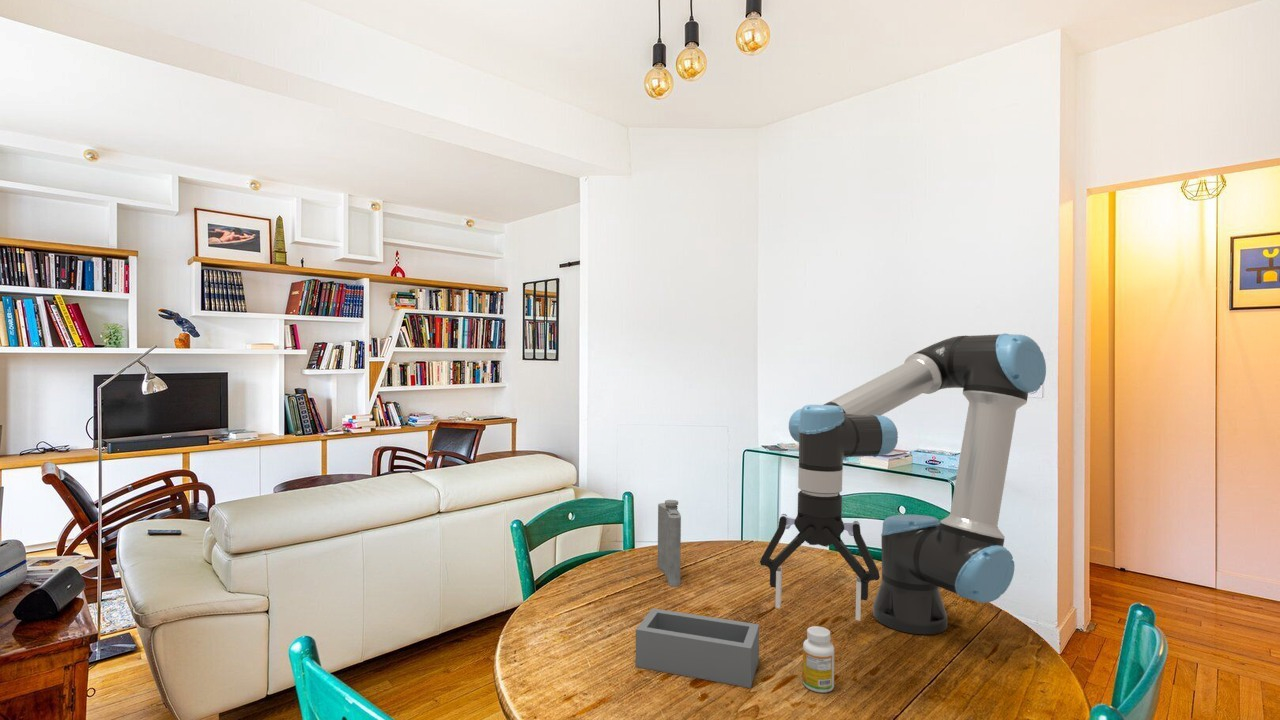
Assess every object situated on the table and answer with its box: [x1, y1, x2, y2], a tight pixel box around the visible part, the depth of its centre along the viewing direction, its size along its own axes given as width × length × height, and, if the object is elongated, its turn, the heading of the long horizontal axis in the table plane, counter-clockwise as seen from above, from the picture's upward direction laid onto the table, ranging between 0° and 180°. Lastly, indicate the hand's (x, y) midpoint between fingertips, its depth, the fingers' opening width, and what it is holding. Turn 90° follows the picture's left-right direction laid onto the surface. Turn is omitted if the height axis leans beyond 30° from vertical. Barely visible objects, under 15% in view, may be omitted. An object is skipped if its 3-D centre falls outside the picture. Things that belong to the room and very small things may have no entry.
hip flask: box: [657, 499, 682, 588], centre depth 161 cm, size 16×4×20 cm, turn 10°
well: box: [634, 607, 760, 689], centre depth 114 cm, size 22×10×7 cm, turn 71°
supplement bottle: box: [802, 625, 835, 694], centre depth 107 cm, size 5×5×10 cm
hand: (817, 611), depth 107 cm, fingers open, 13 cm apart
